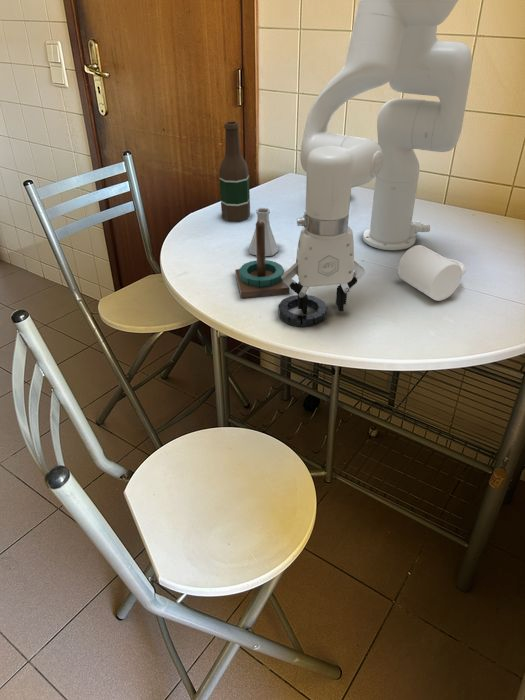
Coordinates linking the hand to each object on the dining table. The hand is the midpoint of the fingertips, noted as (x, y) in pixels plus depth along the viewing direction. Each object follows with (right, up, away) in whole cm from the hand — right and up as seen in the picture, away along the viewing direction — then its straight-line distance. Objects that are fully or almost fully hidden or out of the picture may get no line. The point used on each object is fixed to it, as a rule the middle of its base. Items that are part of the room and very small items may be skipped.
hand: (321, 308), depth 102 cm
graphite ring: (-4, -1, 0) cm, 4 cm away
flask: (-11, +15, +23) cm, 30 cm away
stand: (-12, +6, +10) cm, 16 cm away
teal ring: (-12, +8, +9) cm, 17 cm away
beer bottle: (-19, +28, +40) cm, 52 cm away
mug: (+24, +5, +7) cm, 26 cm away
